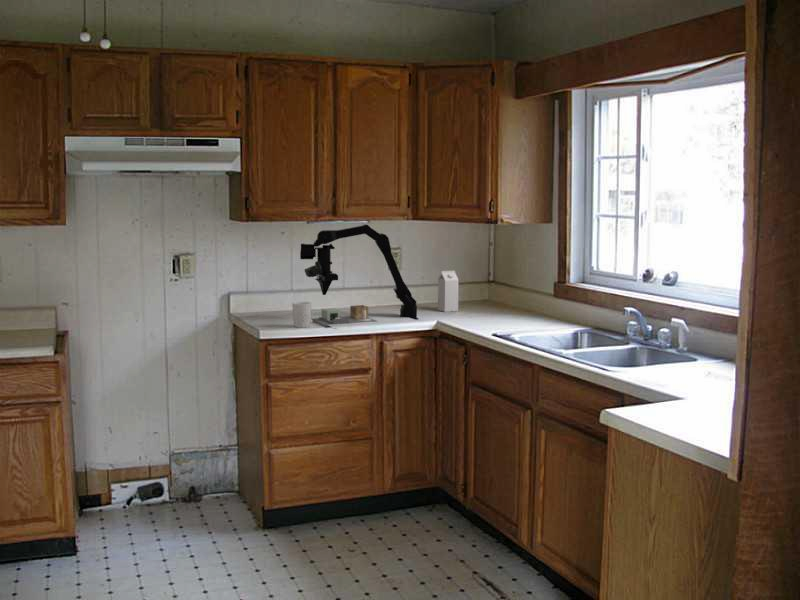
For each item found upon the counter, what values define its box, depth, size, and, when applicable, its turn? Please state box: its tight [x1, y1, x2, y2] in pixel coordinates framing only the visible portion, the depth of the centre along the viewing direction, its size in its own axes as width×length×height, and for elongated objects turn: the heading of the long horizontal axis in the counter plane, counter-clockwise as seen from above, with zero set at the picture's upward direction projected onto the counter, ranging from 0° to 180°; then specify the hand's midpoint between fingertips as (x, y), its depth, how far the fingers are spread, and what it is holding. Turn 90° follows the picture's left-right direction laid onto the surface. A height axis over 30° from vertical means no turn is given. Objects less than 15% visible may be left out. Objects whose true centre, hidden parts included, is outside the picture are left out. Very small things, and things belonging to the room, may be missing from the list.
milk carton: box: [437, 270, 459, 313], centre depth 418 cm, size 7×7×19 cm
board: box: [312, 310, 377, 329], centre depth 382 cm, size 24×16×5 cm, turn 116°
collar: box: [349, 304, 369, 319], centre depth 389 cm, size 6×6×5 cm
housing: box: [321, 308, 342, 321], centre depth 383 cm, size 6×7×4 cm
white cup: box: [291, 301, 312, 329], centre depth 372 cm, size 8×8×10 cm
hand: (324, 294), depth 389 cm, fingers closed
